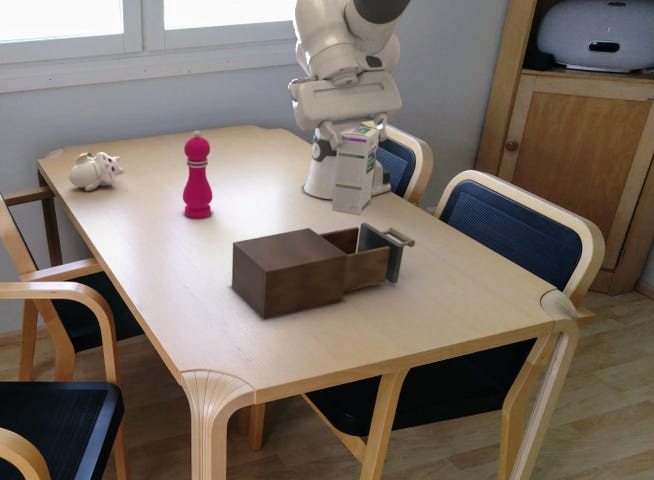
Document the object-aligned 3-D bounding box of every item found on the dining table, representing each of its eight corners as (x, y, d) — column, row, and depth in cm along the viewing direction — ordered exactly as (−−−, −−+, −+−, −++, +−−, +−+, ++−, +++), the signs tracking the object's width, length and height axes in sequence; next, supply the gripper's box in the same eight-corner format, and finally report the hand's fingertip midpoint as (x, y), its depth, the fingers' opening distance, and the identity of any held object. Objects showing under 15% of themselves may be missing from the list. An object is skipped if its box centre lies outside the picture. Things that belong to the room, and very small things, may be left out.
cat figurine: (65, 156, 176) (118, 141, 180) (61, 164, 184) (112, 150, 188) (77, 192, 177) (130, 176, 181) (73, 198, 185) (123, 183, 189)
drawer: (380, 253, 143) (386, 218, 138) (418, 278, 133) (425, 241, 129) (295, 271, 137) (298, 235, 133) (328, 298, 127) (332, 260, 123)
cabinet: (305, 271, 139) (309, 227, 133) (341, 301, 128) (347, 254, 123) (231, 287, 134) (232, 242, 128) (263, 319, 123) (266, 271, 118)
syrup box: (360, 216, 124) (371, 136, 116) (329, 210, 126) (338, 131, 118) (370, 206, 128) (381, 127, 119) (340, 200, 130) (349, 123, 122)
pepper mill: (209, 220, 162) (210, 135, 151) (180, 218, 164) (178, 134, 153) (214, 208, 168) (214, 126, 157) (186, 207, 170) (184, 126, 158)
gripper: (292, 68, 116) (317, 141, 114) (392, 57, 122) (417, 126, 120) (278, 90, 122) (301, 160, 120) (374, 79, 128) (398, 145, 125)
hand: (360, 143), depth 120 cm, fingers closed on syrup box, 8 cm apart
